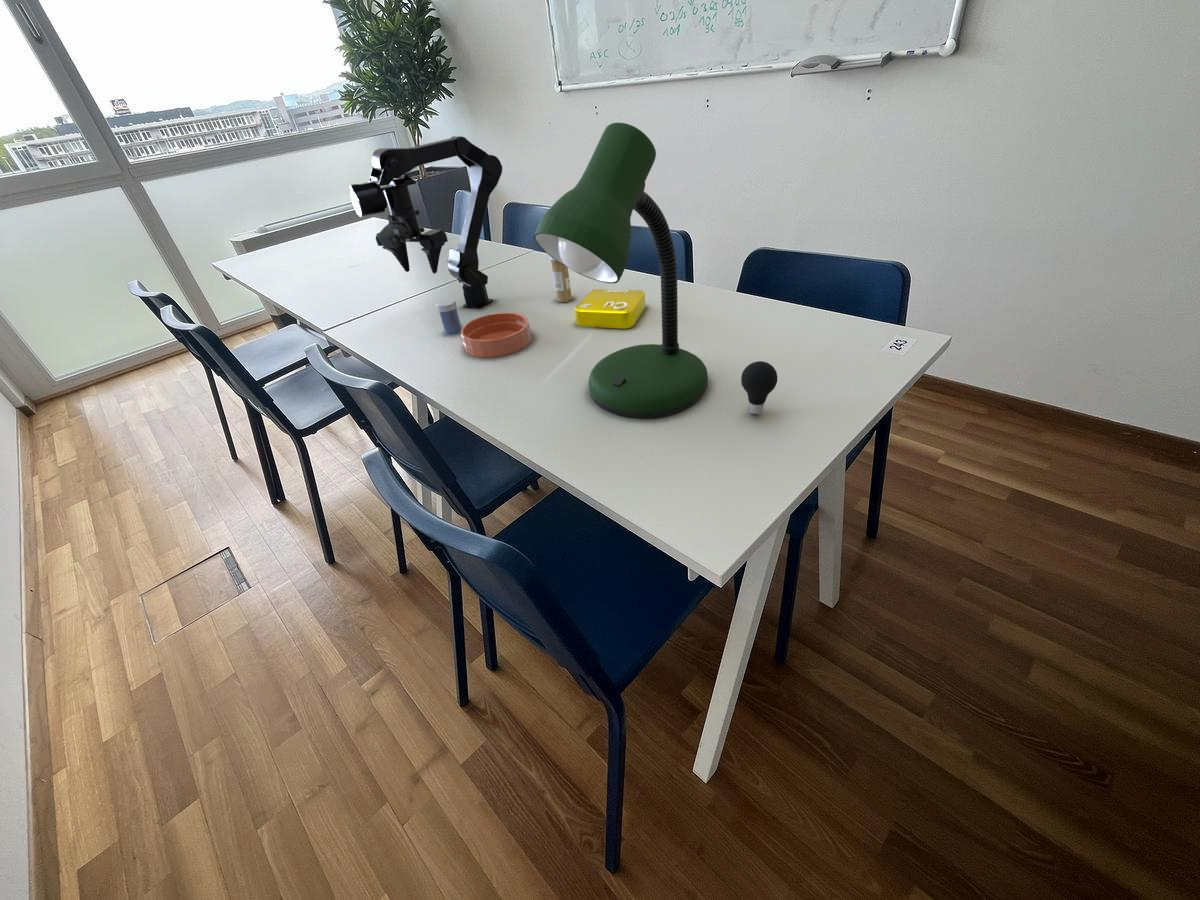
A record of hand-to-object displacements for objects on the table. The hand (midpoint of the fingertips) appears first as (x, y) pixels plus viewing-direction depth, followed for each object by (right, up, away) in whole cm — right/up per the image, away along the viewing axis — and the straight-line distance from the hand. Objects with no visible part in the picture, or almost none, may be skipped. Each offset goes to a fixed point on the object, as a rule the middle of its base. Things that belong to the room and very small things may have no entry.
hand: (421, 272), depth 134 cm
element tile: (+50, -12, -2) cm, 51 cm away
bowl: (+22, -20, -9) cm, 31 cm away
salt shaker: (+9, -16, -1) cm, 18 cm away
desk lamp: (+53, -36, -34) cm, 73 cm away
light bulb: (+74, -40, -43) cm, 95 cm away
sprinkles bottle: (+37, -4, +11) cm, 38 cm away
